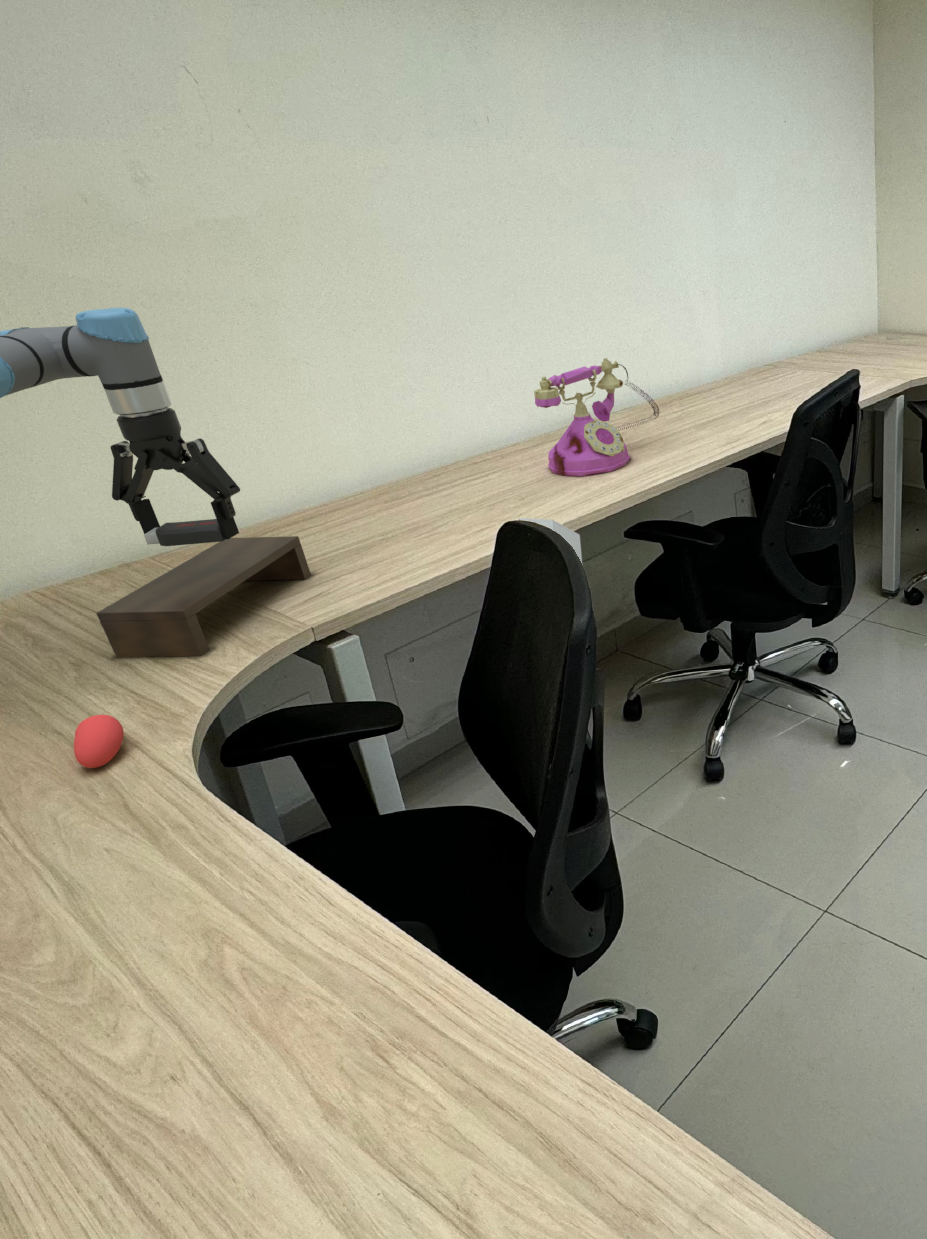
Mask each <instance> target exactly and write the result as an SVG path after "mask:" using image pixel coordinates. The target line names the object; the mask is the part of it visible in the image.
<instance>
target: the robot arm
mask: <svg viewBox="0 0 927 1239" xmlns="http://www.w3.org/2000/svg"><path fill="white" fill-rule="evenodd" d="M75 322H76V325H68V326H44V327H28V326H27V327H25V326H24V327H19V328H12V329H4V330H0V399H2V398H4V397H6V396H10V395H12V394H15V393H18V392H21V391H24V390H28V389H31V388H35V387H39V386H41V385H44V384H47V383H52V382H53V381H57V380H63V379H72V378H85V377H98V378H99V381H100V383H101V385H102V387H103V388H102V389H103V390H104V392H105V395H106V397H107V400H108V403H109V406H110V409H111V410H112V413H113V414H114V415H118V416H117V419H116V422H117V425H118V427H119V430H120V432H121V434H122V435H121V436H122V438H123V439H124V440H122V441H120V442H117V443H114V444H112V445H110V451H111V455H112V457H113V466H112V467H113V469H112V484H111V486H112V488H111V497H112V499H113V500H114V501H117V502H118V501H122V502H124V503H126V504H127V505H128V506H129V508H130V511H131V513H132V516H133V518H134V520H135V522H139V525H140V527H141V529H142V532H143V535H144V534H146V533H147V532H149V531H150V530H152V529H154V528H158V527H160V526H161V525H160V522H159V520H158V518H157V515H156V512H155V510H154V508H153V504H152V502H151V500H150V498H146V497H147V495H145V493H146V491H147V488H148V486H149V484H150V481H151V478H152V476H153V475H154V474H153V473H154V471H160V470H165V471H172V470H174V471H175V472H176V473H180V474H182V475H183V476H185V477H186V478H187V479H188V480H189V481H191V482H192V483H193V484H195V485H196V486H197V487H198V488H200V489H201V490H202V491H203V492H205V494H207V495H208V496H209V497H210V498H212V499H213V501H211V502H209V503H210V506H211V508H212V511H213V513H214V517H215V519H217V522H218V524H219V527H220V530H221V532H222V535H223V537H224V539H230V538H234V537H235V536H237V535H238V534H240V531H239V528H238V526H237V523H236V519H235V518H234V517H236V516H237V515H236V514H237V513H236V510H235V507H234V505H233V504H234V503H233V502H232V499H231V498H232V496H234V495H236V494H238V493H240V492H241V487H239V485H238V484H237V483H236V482H235V481H234V479H233V478H232V477H231V476H230V474H229V473H228V472H227V471H226V470H225V468H224V467H222V465H221V464H220V463H219V461H218V460H217V459H216V458H215V457H214V455H212V453H211V452H210V451H209V449H208V447H207V444H206V442H205V440H204V439H203V438H196V439H194V440H190V441H185V439H183V437H182V434H181V432H182V426H181V424H180V421H179V418H178V415H177V412H176V410H175V409H174V408H171V405H173V402H172V400H171V397H170V395H169V393H168V392H169V391H168V389H167V387H166V384H165V381H164V380H163V376H162V374H161V372H160V369H159V366H158V363H157V361H156V358H155V354H154V352H153V349H152V347H151V344H150V341H149V340H150V337H149V335H148V334H147V333H146V331H145V330H146V329H145V328H144V326H143V324H142V321H141V319H140V317H139V315H138V313H137V312H136V311H135V310H133V309H131V308H128V307H109V308H99V309H90V310H83V311H79V312H77V313H76V314H75ZM134 456H135V457H136V458H137V460H136V463H135V465H134ZM133 469H134V470H133ZM133 471H134V472H133Z"/></svg>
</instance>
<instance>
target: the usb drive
mask: <svg viewBox="0 0 927 1239" xmlns="http://www.w3.org/2000/svg"><path fill="white" fill-rule="evenodd" d="M143 536H144V539H145V542H146V544H147V545H148V546H149V545H160V547H177V546H186V545H187V546H188V545H199V544H209V543H219V542H221V541H224V540H225V539H224V537H223V535H222V532H221V530H220V527H219V524H218V522H217V519H216V518H210V519H199V520H189V521H188V520H187V521H175V522H174V521H173V522H165V523H163V524H162V525H160V527H158V528H154V529H152V530H150V531H149V532H147V533H146V534H144V533H143Z"/></svg>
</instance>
